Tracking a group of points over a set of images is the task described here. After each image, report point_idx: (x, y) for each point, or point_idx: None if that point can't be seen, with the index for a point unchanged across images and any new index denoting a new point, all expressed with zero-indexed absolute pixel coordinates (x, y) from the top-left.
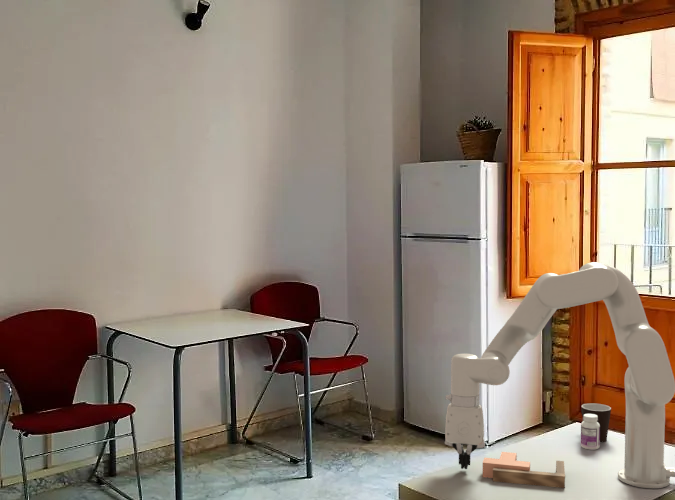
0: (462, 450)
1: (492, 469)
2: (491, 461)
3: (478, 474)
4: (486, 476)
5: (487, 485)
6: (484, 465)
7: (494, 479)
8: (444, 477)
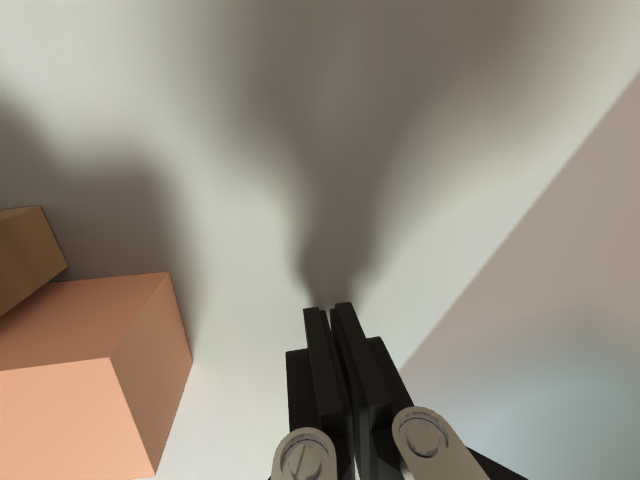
0: (393, 473)
1: (30, 323)
2: (24, 420)
3: (216, 306)
4: (133, 279)
5: (33, 77)
6: (103, 336)
7: (7, 211)
8: (450, 151)
